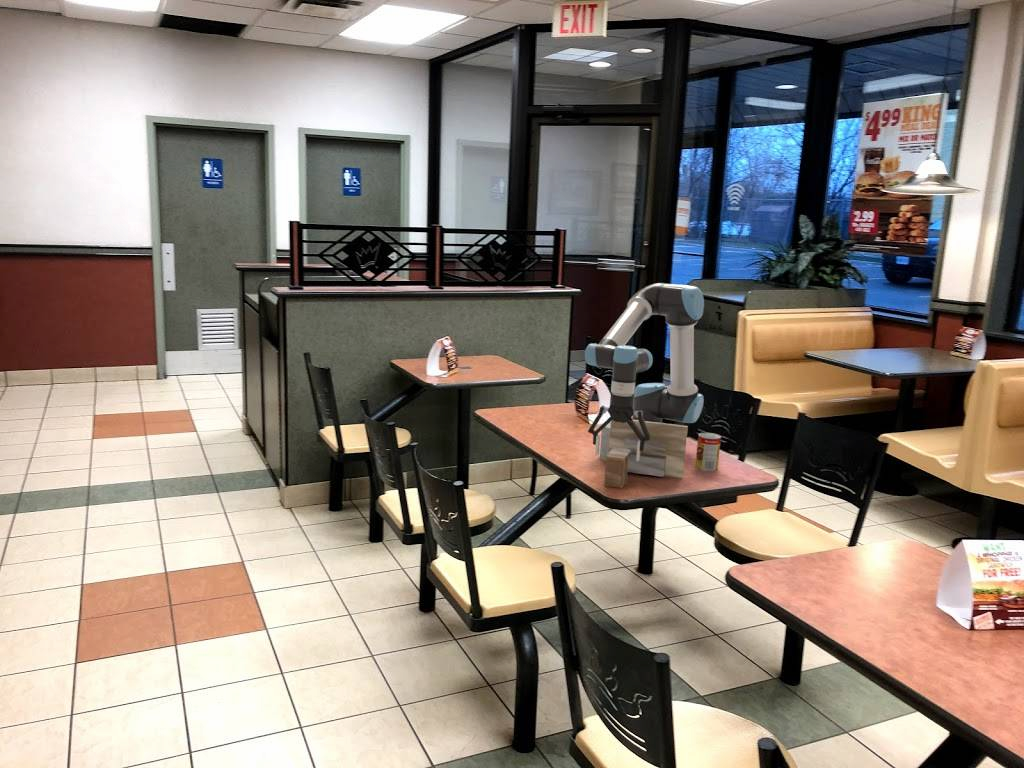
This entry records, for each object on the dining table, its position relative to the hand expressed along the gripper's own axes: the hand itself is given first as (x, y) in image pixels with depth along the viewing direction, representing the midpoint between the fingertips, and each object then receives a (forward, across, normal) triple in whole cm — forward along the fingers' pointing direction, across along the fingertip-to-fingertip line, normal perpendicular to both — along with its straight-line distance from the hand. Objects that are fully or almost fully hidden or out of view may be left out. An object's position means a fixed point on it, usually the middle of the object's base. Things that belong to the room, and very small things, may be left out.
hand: (617, 457), depth 272 cm
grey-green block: (+9, -7, +29) cm, 31 cm away
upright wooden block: (+9, 0, +2) cm, 9 cm away
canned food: (+9, +27, +33) cm, 43 cm away
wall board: (+9, +7, +15) cm, 18 cm away
